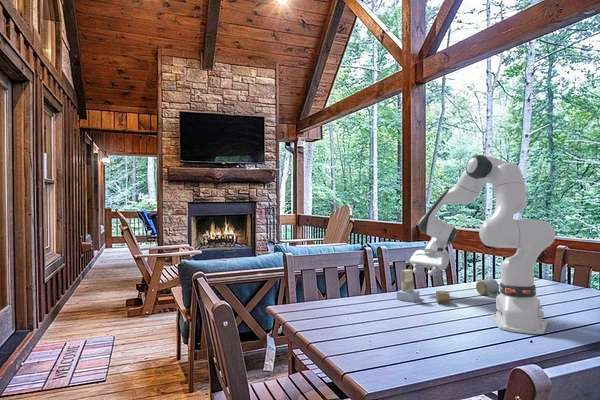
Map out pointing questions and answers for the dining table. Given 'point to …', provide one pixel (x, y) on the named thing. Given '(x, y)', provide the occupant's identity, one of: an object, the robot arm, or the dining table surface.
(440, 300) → the walnut cube
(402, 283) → the birch pillar
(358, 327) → the dining table surface
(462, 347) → the dining table surface
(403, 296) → the slate slab
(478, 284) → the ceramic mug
